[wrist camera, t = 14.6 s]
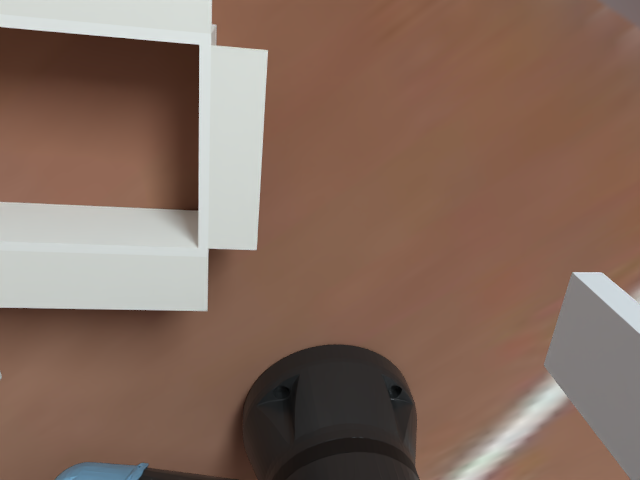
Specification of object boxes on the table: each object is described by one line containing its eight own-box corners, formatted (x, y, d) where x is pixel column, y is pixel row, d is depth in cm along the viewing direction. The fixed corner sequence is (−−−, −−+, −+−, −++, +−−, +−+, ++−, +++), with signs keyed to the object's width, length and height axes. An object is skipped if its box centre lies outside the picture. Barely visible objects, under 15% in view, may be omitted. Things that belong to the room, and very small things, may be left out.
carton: (252, 268, 42) (253, 311, 36) (-179, 256, 37) (-250, 303, 32) (268, -42, 33) (273, -45, 28) (-295, -107, 28) (-421, -126, 23)
